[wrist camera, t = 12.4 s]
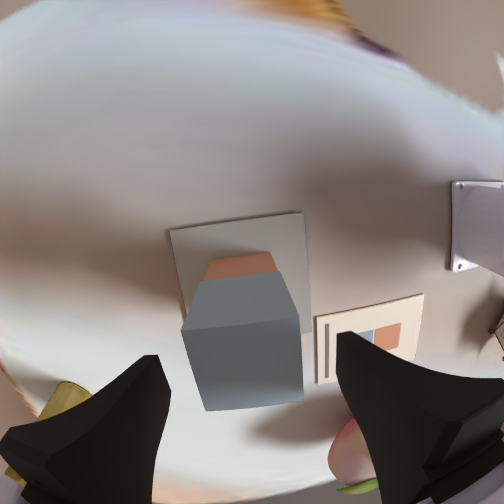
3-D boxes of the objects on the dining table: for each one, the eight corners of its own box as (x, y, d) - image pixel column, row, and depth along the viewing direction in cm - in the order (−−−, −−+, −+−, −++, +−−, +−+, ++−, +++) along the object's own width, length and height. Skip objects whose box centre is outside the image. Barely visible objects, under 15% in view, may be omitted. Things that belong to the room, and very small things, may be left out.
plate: (302, 212, 19) (303, 213, 18) (310, 328, 21) (311, 331, 20) (171, 230, 19) (169, 231, 18) (196, 343, 21) (195, 346, 20)
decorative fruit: (345, 448, 25) (368, 512, 16) (305, 426, 24) (325, 505, 14) (410, 401, 24) (449, 461, 14) (380, 371, 22) (429, 444, 13)
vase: (81, 422, 23) (38, 508, 10) (49, 385, 22) (-10, 467, 8) (114, 418, 23) (72, 521, 9) (79, 376, 22) (13, 477, 8)
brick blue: (279, 270, 14) (299, 316, 9) (286, 338, 15) (303, 400, 10) (200, 281, 14) (180, 330, 9) (214, 347, 15) (205, 411, 10)
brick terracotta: (276, 306, 20) (286, 343, 15) (220, 313, 20) (215, 351, 15) (270, 252, 19) (280, 275, 14) (211, 260, 19) (201, 286, 14)
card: (422, 293, 21) (424, 294, 20) (413, 357, 22) (414, 359, 22) (316, 316, 21) (317, 318, 20) (317, 383, 22) (318, 385, 22)
